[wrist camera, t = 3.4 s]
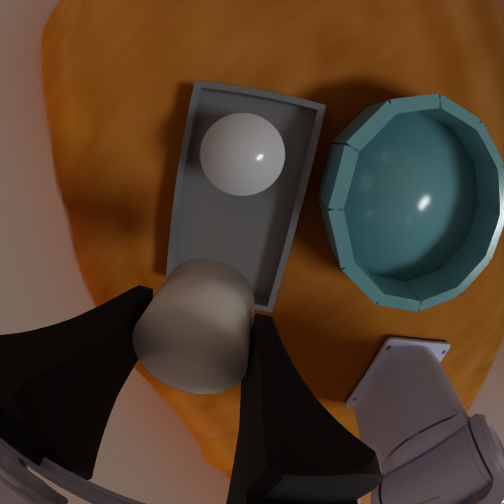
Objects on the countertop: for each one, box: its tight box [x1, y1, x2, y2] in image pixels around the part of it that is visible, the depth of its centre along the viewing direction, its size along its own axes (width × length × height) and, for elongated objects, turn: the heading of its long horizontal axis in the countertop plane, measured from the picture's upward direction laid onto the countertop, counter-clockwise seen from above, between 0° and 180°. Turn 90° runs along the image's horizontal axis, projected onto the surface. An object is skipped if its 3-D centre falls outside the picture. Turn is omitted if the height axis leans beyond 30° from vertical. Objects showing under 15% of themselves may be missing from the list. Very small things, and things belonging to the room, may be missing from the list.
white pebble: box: [200, 113, 285, 196], centre depth 14 cm, size 4×4×4 cm
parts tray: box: [166, 80, 326, 313], centre depth 17 cm, size 13×7×2 cm, turn 168°
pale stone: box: [132, 259, 255, 394], centre depth 10 cm, size 4×4×4 cm
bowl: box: [317, 94, 504, 312], centre depth 15 cm, size 13×13×4 cm
